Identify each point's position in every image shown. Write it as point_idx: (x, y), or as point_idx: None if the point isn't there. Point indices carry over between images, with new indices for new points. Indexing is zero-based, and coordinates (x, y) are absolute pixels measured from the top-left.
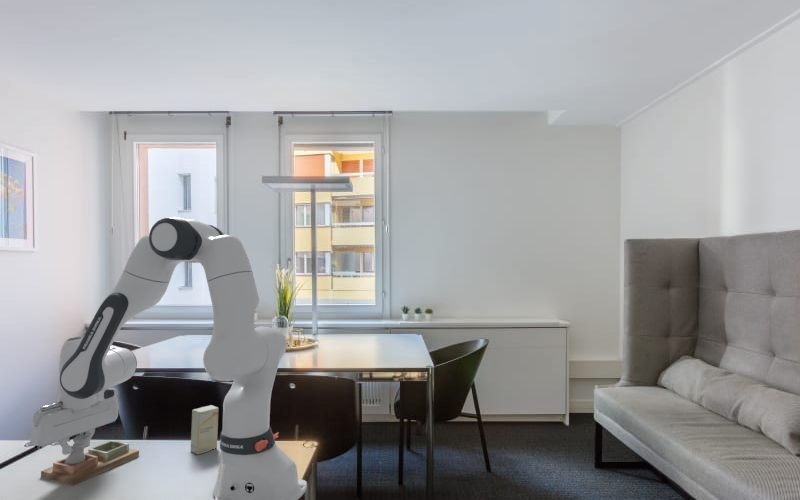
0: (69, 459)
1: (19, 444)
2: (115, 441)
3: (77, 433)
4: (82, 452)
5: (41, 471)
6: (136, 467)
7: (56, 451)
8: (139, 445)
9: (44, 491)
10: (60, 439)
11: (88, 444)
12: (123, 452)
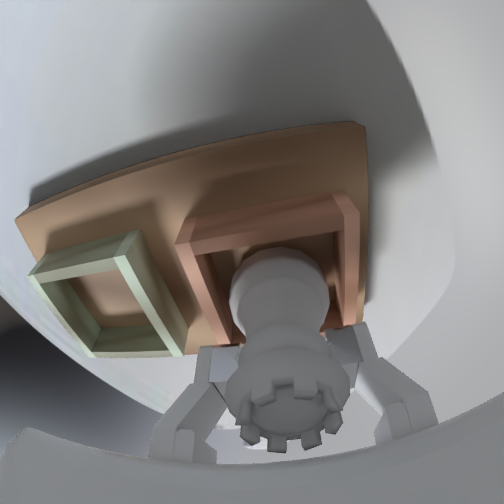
0: (321, 303)
1: (262, 446)
2: (77, 339)
3: (336, 462)
4: (263, 306)
5: None
6: (58, 80)
7: None
8: (30, 293)
9: (429, 183)
10: (486, 408)
11: (207, 354)
12: (61, 249)
